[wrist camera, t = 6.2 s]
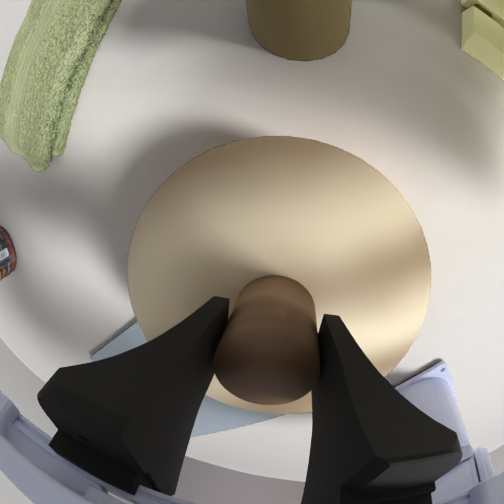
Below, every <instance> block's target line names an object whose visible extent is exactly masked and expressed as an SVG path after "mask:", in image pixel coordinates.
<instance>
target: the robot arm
mask: <svg viewBox="0 0 504 504" xmlns="http://www.w3.org/2000/svg"><path fill="white" fill-rule="evenodd" d="M229 301H230V299H229V298H223V297H218V296H214V297H212V298H211V299H209V300H208V301H207V302H206V303H205V304H203V305H202V306H201V307H200V308H198V309H197V310H196V311H195V312H193V313H192V314H191V315H189V316H188V317H187V318H185V319H184V320H182V321H181V322H180V323H178V324H177V325H175V326H174V327H172V328H171V329H169V330H168V331H166V332H164V333H163V334H161V335H159V336H158V337H156V338H154V339H152V340H150V341H148V342H146V343H144V344H142V345H140V346H138V347H135V348H133V349H130V350H128V351H125V352H123V353H120V354H118V355H115V356H112V357H109V358H105V359H102V360H98V361H94V362H90V363H86V364H80V365H75V366H69V367H62V368H59V369H58V370H57V371H56V372H55V373H54V375H53V376H52V377H51V378H50V379H49V381H48V382H47V383H46V384H45V385H44V387H43V388H42V389H41V390H40V391H39V393H38V395H37V397H38V401H39V404H40V406H41V407H42V409H43V410H44V412H45V413H46V414H47V416H48V417H49V418H50V419H51V421H52V422H53V423H54V425H55V426H56V427H57V428H58V431H57V433H56V434H55V435H54V437H53V438H52V437H50V436H49V435H48V434H46V433H45V432H43V431H42V430H41V429H39V428H38V427H36V426H35V425H34V424H33V423H31V422H30V421H29V420H28V419H26V418H25V417H24V416H23V415H21V414H20V412H19V410H18V409H17V408H16V406H15V405H14V404H13V403H12V402H11V401H10V399H9V398H8V397H7V396H5V395H4V394H3V393H2V392H1V391H0V470H1V471H2V472H3V473H4V474H5V475H6V476H7V477H8V478H9V479H10V481H12V483H13V484H14V485H15V486H16V487H17V488H18V489H19V490H20V491H21V492H22V493H23V494H24V495H25V496H27V497H28V498H29V499H30V500H31V501H32V502H33V503H34V504H126V503H124V502H122V501H120V500H118V499H116V498H114V497H113V496H111V495H109V494H108V492H110V493H112V494H114V495H116V496H118V497H121V498H123V499H125V500H127V501H130V502H132V503H134V504H195V503H192V502H188V501H184V500H181V499H178V498H175V497H172V495H174V494H175V491H176V487H177V483H178V479H179V475H180V471H181V467H182V464H183V460H184V457H185V453H186V450H187V446H188V443H189V440H190V436H191V433H192V430H193V427H194V423H195V420H196V417H197V414H198V411H199V408H200V406H201V403H202V401H203V399H204V396H205V394H206V392H207V390H208V387H209V385H210V383H211V381H212V379H213V376H214V374H215V373H214V370H213V356H214V353H215V351H216V348H217V346H218V344H219V341H220V339H221V336H222V334H223V332H224V329H225V327H226V325H227V322H228V316H229ZM318 342H319V354H320V377H319V380H318V382H317V384H316V385H315V387H314V388H313V389H312V390H311V394H312V417H313V424H312V439H311V448H310V456H309V464H308V471H307V477H306V482H305V488H304V493H303V497H302V502H301V504H504V471H502V472H500V473H498V474H496V475H495V474H494V470H493V466H492V463H491V459H490V456H489V453H488V450H487V449H485V448H481V447H479V448H477V449H476V450H475V451H474V450H473V448H472V446H471V443H470V440H469V437H468V434H467V431H466V428H465V425H464V422H463V419H462V416H461V413H460V411H459V408H458V405H457V402H458V400H457V396H456V393H455V390H454V386H453V383H452V380H451V377H450V374H449V371H448V368H447V365H446V362H445V361H441V362H439V363H437V364H436V365H434V366H432V367H431V368H429V369H427V370H426V371H424V372H422V373H420V374H419V375H417V376H415V377H413V378H411V379H409V380H408V381H406V382H404V383H402V384H400V385H398V386H396V387H393V386H392V385H391V384H390V383H389V382H388V381H387V380H386V379H385V378H384V377H383V376H382V374H381V373H380V372H379V371H378V370H377V369H376V367H375V366H374V365H373V364H372V362H371V361H370V360H369V359H368V357H367V356H366V355H365V353H364V352H363V351H362V349H361V348H360V346H359V345H358V344H357V342H356V341H355V339H354V338H353V336H352V335H351V333H350V332H349V330H348V329H347V327H346V325H345V324H344V322H343V321H342V319H341V318H340V316H338V315H331V314H324V315H323V318H322V322H321V325H320V328H319V332H318ZM107 491H108V492H107Z"/></svg>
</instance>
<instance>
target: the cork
mask: <svg viewBox="0 0 504 504" xmlns="http://www.w3.org/2000/svg"><path fill="white" fill-rule="evenodd" d="M246 2H247V10H248V19H249V26H250V28H251V31H252V34H253V37H254V38H255V39H256V40H257V41H258V43H259V44H260V45H261V46H262V47H263V48H265V49H266V50H268V51H269V52H271V53H272V54H274V55H277V56H280V57H283V58H286V59H288V60H297V61H311V60H317V59H322V58H325V57H327V56H329V55H331V54H333V53H335V52H336V51H337V50H338V49H339V48H340V47H341V46H342V45H343V44H344V43H345V41H346V39H347V36H348V34H349V28H350V16H351V3H352V0H246Z"/></svg>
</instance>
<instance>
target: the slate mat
mask: <svg viewBox="0 0 504 504" xmlns="http://www.w3.org/2000/svg"><path fill="white" fill-rule="evenodd" d="M146 342H148V341H147V340H146V338H145V336H144V334H143V332H142V330H141V328H140V326H139V324H138V322H135V323H134V324H133V325H131V326H130V327H129V328H127V329H126V330H125V331H123V332H122V333H121V334H119V335H118V336H117V337H115V338H114V339H113V340H112V341H110V342H109V343H108V344H106V345H105V346H104V347H102V348H101V349H100V350H99V351H97V352H96V353H95V354H93V355H92V356H91V359H92V360H93V361H98V360H102V359H105V358H109V357H112V356H115V355H118V354H120V353H123V352H125V351H128V350H130V349H133V348H135V347H138V346H140V345H142V344H144V343H146ZM282 415H285V414H270V413H260V412H254V411H248V410H244V409H241V408H237V407H233V406H230V405H227V404H225V403H222V402H220V401H217V400H215V399H213V398H211V397H209V396H207V395H205V396H204V399H203V401H202V403H201V406H200V408H199V411H198V414H197V417H196V420H195V423H194V427H193V430H192V433H191V436H190V437H194V436H200V435H205V434H211V433H216V432H221V431H225V430H230V429H234V428H239V427H243V426H247V425H251V424H254V423H258V422H262V421H265V420H269V419H272V418H275V417H279V416H282Z"/></svg>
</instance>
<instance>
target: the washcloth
mask: <svg viewBox="0 0 504 504" xmlns="http://www.w3.org/2000/svg"><path fill="white" fill-rule="evenodd" d="M120 2H121V0H32V1H31V4H30V6H29V8H28V11H27V14H26V17H25V19H24V21H23V23H22V25H21V27H20V29H19V31H18V33H17V34H16V37H15V39H14V42H13V45H12V48H11V51H10V54H9V57H8V60H7V64H6V66H5V70H4V74H3V77H2V80H1V83H0V138H1V139H2V140H3V141H4V142H5V143H6V144H7V146H8V148H9V149H10V150H11V151H12V152H13V153H15V154H19V155H20V156H22V157H23V158H24V159H26V160H27V161H28V163H29V164H30V166H31V168H32V169H33V170H35V171H36V172H43V171H45V170H46V168H47V166H49V163H50V162H51V155H52V156H60V155H62V154H63V152H64V148H65V147H66V141H67V136H68V133H69V129H70V126H71V120H72V116H73V114H74V111H75V107H76V105H77V103H78V99H79V94H80V92H81V88H82V87H83V84H84V81H85V78H86V76H87V74H88V70H89V66H90V65H91V63H92V61H93V57H94V56H95V53H96V51H97V49H98V46H99V44H100V41H101V40H102V37H103V36H104V35H105V31H106V29H108V23H109V22H110V21H111V19H112V17H113V16H114V12H115V11H116V10H117V9H118V8H119V5H120Z"/></svg>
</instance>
